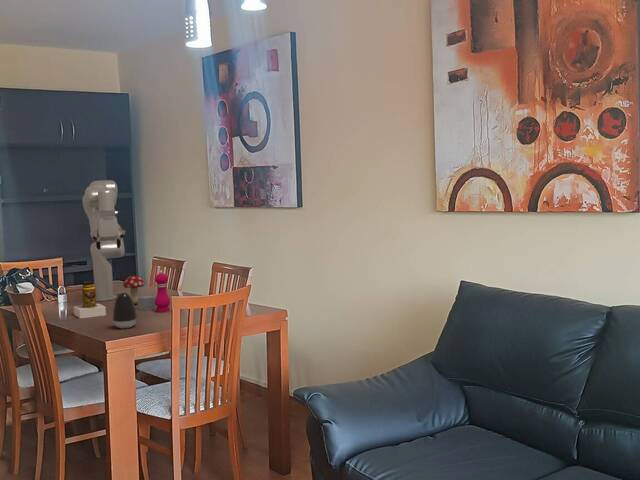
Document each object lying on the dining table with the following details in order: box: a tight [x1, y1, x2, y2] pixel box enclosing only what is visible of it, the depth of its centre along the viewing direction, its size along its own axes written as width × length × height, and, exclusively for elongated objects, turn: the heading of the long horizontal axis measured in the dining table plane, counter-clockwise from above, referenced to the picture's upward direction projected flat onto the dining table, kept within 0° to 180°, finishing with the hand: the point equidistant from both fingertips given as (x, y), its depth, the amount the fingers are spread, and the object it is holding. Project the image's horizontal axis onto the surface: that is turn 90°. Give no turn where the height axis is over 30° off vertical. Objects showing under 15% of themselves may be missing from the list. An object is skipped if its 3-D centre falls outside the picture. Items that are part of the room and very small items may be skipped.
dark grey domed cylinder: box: [111, 292, 138, 329], centre depth 314 cm, size 10×10×15 cm
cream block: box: [73, 303, 107, 319], centre depth 346 cm, size 12×12×4 cm
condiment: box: [77, 280, 99, 308], centre depth 345 cm, size 7×8×12 cm
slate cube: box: [137, 295, 157, 311], centre depth 357 cm, size 6×6×6 cm
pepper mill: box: [154, 270, 171, 313], centre depth 348 cm, size 7×7×20 cm
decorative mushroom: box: [122, 275, 145, 306], centre depth 370 cm, size 11×11×15 cm
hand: (108, 248), depth 360 cm, fingers open, 9 cm apart
